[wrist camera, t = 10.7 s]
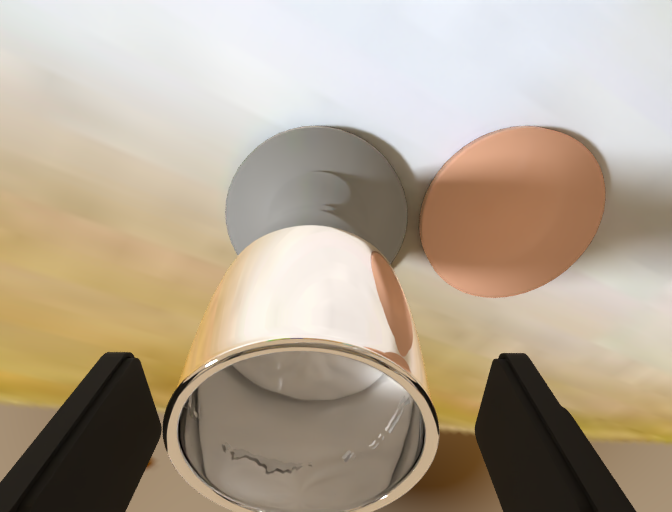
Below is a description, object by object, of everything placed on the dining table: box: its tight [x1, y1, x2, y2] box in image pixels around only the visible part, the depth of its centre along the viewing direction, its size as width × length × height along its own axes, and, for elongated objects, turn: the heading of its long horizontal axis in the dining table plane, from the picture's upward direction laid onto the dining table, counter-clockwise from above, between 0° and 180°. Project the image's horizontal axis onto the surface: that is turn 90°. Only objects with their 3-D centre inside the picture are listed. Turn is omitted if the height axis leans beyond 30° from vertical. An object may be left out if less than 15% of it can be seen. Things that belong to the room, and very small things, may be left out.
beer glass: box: [163, 171, 439, 512], centre depth 15 cm, size 7×7×15 cm
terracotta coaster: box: [419, 126, 605, 298], centre depth 23 cm, size 11×11×1 cm
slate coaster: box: [225, 126, 407, 264], centre depth 23 cm, size 11×11×1 cm
